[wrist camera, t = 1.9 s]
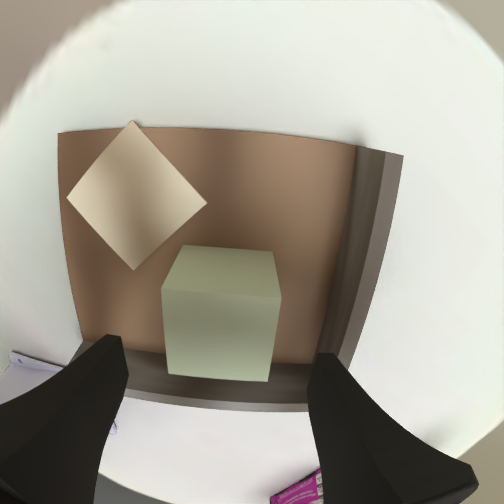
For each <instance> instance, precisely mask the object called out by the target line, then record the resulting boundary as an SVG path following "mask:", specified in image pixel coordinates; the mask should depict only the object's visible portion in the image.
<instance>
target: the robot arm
mask: <svg viewBox="0 0 504 504" xmlns="http://www.w3.org/2000/svg"><path fill="white" fill-rule="evenodd" d="M9 358H10V360H11V362H12V363H11V364H10V365H9V366H8V368H7V369H6V370H5V372H4V373H3V374H2V376H1V377H0V504H93V500H94V493H95V486H96V480H97V474H98V470H99V465H100V461H101V456H102V452H103V449H104V445H105V442H106V440H107V437H108V434H113V435H114V434H116V432H117V430H116V427H115V425H114V423H113V422H114V419H115V417H116V414H117V412H118V409H119V407H120V404H121V402H122V399H123V397H124V393H125V389H126V386H127V382H128V378H129V372H128V367H127V363H126V358H125V353H124V349H123V344H122V339H121V336H117V335H111V334H106V335H104V336H103V337H102V338H101V339H99V340H98V341H97V342H96V343H94V344H93V345H92V346H91V347H90V348H88V349H87V350H86V351H85V352H84V353H82V354H81V355H80V356H79V357H77V358H76V359H75V360H74V361H72V362H71V363H70V364H69V365H67V366H66V367H64V368H63V367H59V366H55V365H52V364H48V363H45V362H42V361H38V360H35V359H32V358H29V357H26V356H23V355H20V354H17V353H14V352H11V353H10V354H9ZM307 401H308V411H309V417H310V422H311V426H312V431H313V435H314V439H315V444H316V448H317V453H318V457H319V462H320V468H321V477H322V489H323V504H459V503H461V502H462V501H463V500H465V499H466V498H467V497H469V496H470V495H471V494H472V493H473V492H474V491H475V490H476V489H477V488H478V485H479V483H478V480H477V478H476V476H475V474H474V471H473V469H472V467H471V466H470V465H469V464H467V463H464V462H462V461H459V460H457V459H455V458H452V457H450V456H448V455H446V454H444V453H442V452H440V451H438V450H436V449H435V448H433V447H431V446H429V445H428V444H426V443H425V442H423V441H421V440H420V439H419V438H417V437H416V436H414V435H413V434H411V433H410V432H408V431H407V430H406V429H404V428H403V427H402V426H401V425H400V424H398V423H397V422H396V421H395V420H394V419H392V418H391V417H390V416H389V415H388V414H387V413H386V412H385V411H384V410H383V409H382V408H381V407H380V406H379V405H378V404H377V403H376V402H375V401H374V400H373V399H372V398H371V397H370V396H369V395H368V394H367V393H366V392H365V391H364V389H363V388H362V387H361V386H360V385H359V384H358V382H357V381H356V380H355V379H354V378H353V376H352V375H351V374H350V373H349V372H348V370H347V369H346V368H345V367H344V365H343V364H342V363H341V362H340V360H339V359H338V358H337V357H336V355H335V354H334V353H317V357H316V360H315V364H314V367H313V371H312V374H311V377H310V381H309V384H308V387H307Z"/></svg>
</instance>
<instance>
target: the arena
mask: <svg viewBox="0 0 504 504" xmlns="http://www.w3.org/2000/svg"><path fill="white" fill-rule="evenodd" d="M402 163H403V155H399V154H394V153H390V152H385V151H380V150H376V149H371V148H365V147H360V146H355V145H349V144H344V143H338V142H331V141H325V140H318V139H311V138H304V137H296V136H288V135H279V134H270V133H260V132H248V131H235V130H219V129H196V128H139V127H138V126H137V125H136V123H135V122H134V121H133V120H132V121H131V122H130V123H129V124H128V125H127V126H126V127H125V128H124V129H105V130H89V131H77V132H66V133H58V183H59V200H60V212H61V223H62V232H63V240H64V248H65V255H66V261H67V267H68V273H69V279H70V284H71V289H72V294H73V299H74V304H75V308H76V313H77V317H78V321H79V325H80V329H81V333H82V337H83V342H82V344H81V345H80V347H79V348H78V350H77V351H76V353H75V355H74V356H73V358H72V359H71V361H70V363H71V362H72V361H74V360H75V359H76V358H77V357H79V356H80V355H81V354H82V353H84V352H85V351H86V350H87V349H88V348H90V347H91V346H92V345H93V344H94V343H96V342H97V341H98V340H99V339H101V338H102V337H103V336H104V335H106V334H111V335H117V336H121V339H122V344H123V349H124V353H125V358H126V363H127V367H128V372H129V378H128V382H127V386H126V389H125V393H124V396H125V397H130V398H135V399H141V400H147V401H153V402H159V403H166V404H173V405H180V406H189V407H198V408H208V409H219V410H233V411H252V412H309V411H308V401H307V387H308V384H309V381H310V377H311V374H312V371H313V367H314V364H315V360H316V357H317V353H334V354H335V355H336V357H337V358H338V359H339V360H340V362H341V363H342V364H343V365H344V367H345V368H346V369H347V370H348V368H349V366H350V363H351V360H352V358H353V355H354V352H355V349H356V347H357V344H358V341H359V338H360V335H361V332H362V329H363V326H364V323H365V320H366V317H367V314H368V310H369V307H370V304H371V301H372V297H373V294H374V290H375V287H376V283H377V280H378V276H379V272H380V269H381V265H382V261H383V257H384V253H385V249H386V245H387V241H388V236H389V232H390V228H391V223H392V218H393V213H394V209H395V204H396V198H397V193H398V187H399V182H400V176H401V170H402ZM183 245H193V246H207V247H220V248H233V249H246V250H259V251H272V252H273V256H274V261H275V266H276V271H277V276H278V281H279V287H280V292H281V297H282V299H281V305H280V311H279V318H278V324H277V330H276V336H275V342H274V348H273V354H272V359H271V365H270V371H269V376H268V382H263V381H243V380H227V379H215V378H204V377H194V376H185V375H177V374H169V373H168V366H167V357H166V347H165V336H164V325H163V312H162V297H161V287H162V285H163V283H164V281H165V279H166V277H167V275H168V273H169V271H170V269H171V267H172V265H173V264H174V262H175V260H176V258H177V256H178V254H179V252H180V250H181V248H182V246H183ZM70 363H69V364H70ZM69 364H68V365H69Z"/></svg>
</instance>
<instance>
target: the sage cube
mask: <svg viewBox="0 0 504 504" xmlns="http://www.w3.org/2000/svg"><path fill="white" fill-rule="evenodd" d="M161 297H162V312H163V325H164V336H165V347H166V357H167V366H168V373H169V374H177V375H185V376H194V377H204V378H215V379H227V380H243V381H263V382H268V376H269V371H270V365H271V359H272V354H273V348H274V342H275V336H276V330H277V324H278V318H279V311H280V305H281V299H282V297H281V292H280V287H279V281H278V276H277V271H276V266H275V261H274V256H273V252H272V251H259V250H246V249H233V248H220V247H207V246H193V245H183V246H182V248H181V250H180V252H179V254H178V256H177V258H176V260H175V262H174V264H173V265H172V267H171V269H170V271H169V273H168V275H167V277H166V279H165V281H164V283H163V285H162V287H161Z"/></svg>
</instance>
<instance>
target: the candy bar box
mask: <svg viewBox="0 0 504 504" xmlns="http://www.w3.org/2000/svg"><path fill="white" fill-rule="evenodd" d="M270 504H323V489H322V477H321V469H320V470H318V471H317V472H315V473H313V474H312V475H310V476H309V477H307V478H305V479H304V480H302V481H300V482H299V483H297V484H295V485H293V486H292V487H290V488H288V489H286V490H284V491H283V492H281V493H279V494H277V495H275V496H273V497H271V498H270Z"/></svg>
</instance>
